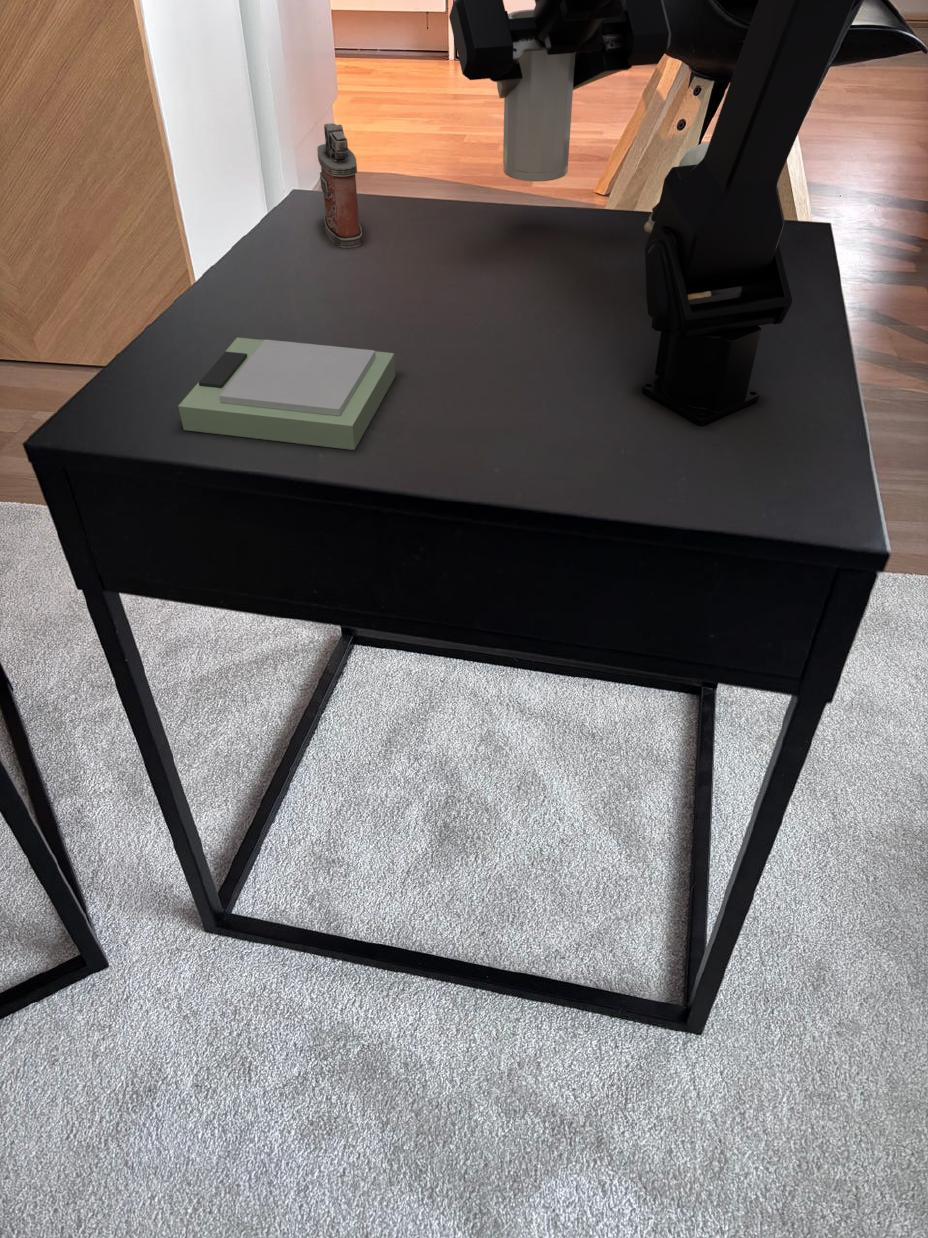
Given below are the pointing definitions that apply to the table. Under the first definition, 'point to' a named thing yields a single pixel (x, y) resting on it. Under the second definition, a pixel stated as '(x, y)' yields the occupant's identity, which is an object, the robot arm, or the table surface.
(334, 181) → the lighter
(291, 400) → the scale
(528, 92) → the tumbler
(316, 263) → the table surface
